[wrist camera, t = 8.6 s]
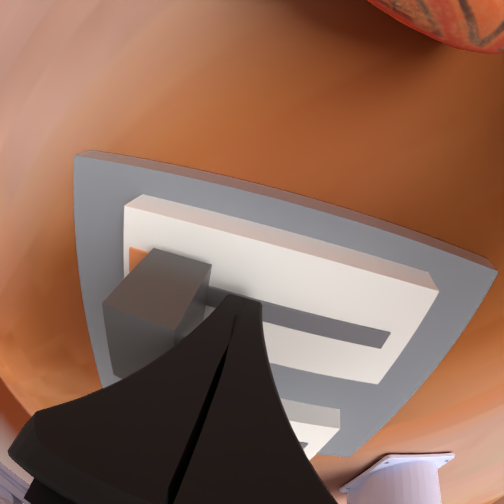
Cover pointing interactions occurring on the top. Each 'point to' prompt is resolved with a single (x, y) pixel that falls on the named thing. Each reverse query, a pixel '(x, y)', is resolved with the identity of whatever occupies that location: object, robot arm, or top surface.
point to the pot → (453, 21)
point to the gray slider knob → (154, 309)
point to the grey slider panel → (286, 285)
